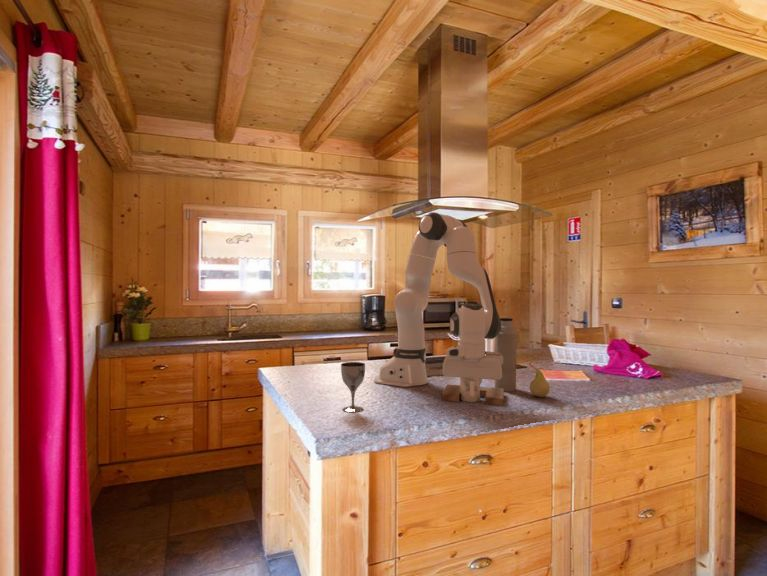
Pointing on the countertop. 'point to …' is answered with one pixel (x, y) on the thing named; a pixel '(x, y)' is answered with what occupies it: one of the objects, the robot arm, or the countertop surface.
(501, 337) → the thermos bottle
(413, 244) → the robot arm
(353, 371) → the wine glass
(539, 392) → the fruit
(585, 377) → the countertop surface
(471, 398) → the beige ceramic cup
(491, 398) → the brown wooden board
